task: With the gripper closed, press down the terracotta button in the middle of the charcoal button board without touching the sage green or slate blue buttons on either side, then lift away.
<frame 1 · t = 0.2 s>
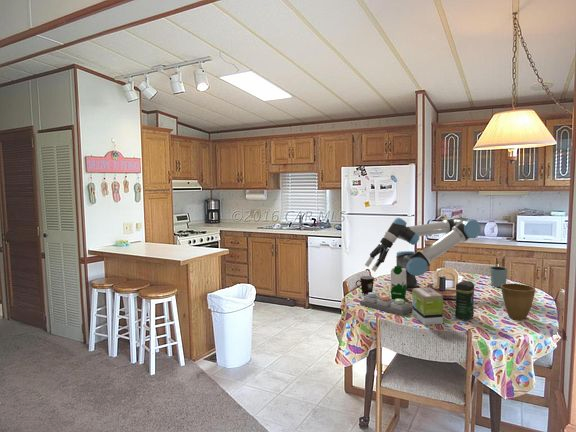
hand: (369, 268, 248), 16 cm above the table, tool tilted 35°, fingers open, 13 cm apart
sage button: (399, 302, 213), point 5 cm above the table, slide at 0.0 cm
button board: (385, 307, 221), on the table
coffee mug: (364, 293, 250), on the table
milk carton: (398, 299, 236), on the table
plant pot: (517, 318, 199), on the table
tea box: (427, 320, 200), on the table
terracotta button: (385, 298, 220), point 5 cm above the table, slide at 0.0 cm
blue-grey cylindrical pot: (498, 286, 257), on the table
slate button: (372, 295, 227), point 5 cm above the table, slide at 0.0 cm
coffee jar: (464, 317, 202), on the table
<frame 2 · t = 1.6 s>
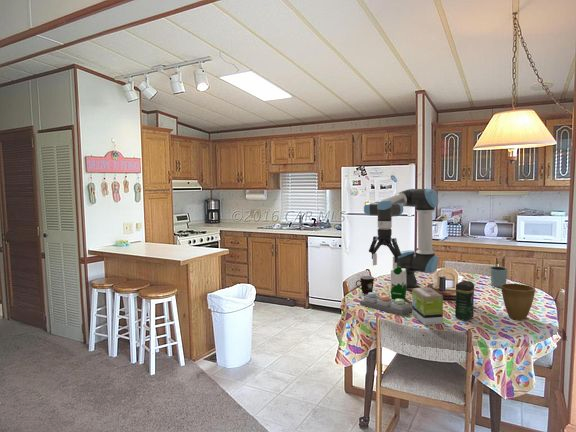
hand: (384, 266, 219), 23 cm above the table, tool pointing down, fingers open, 12 cm apart
nothing on the table moved.
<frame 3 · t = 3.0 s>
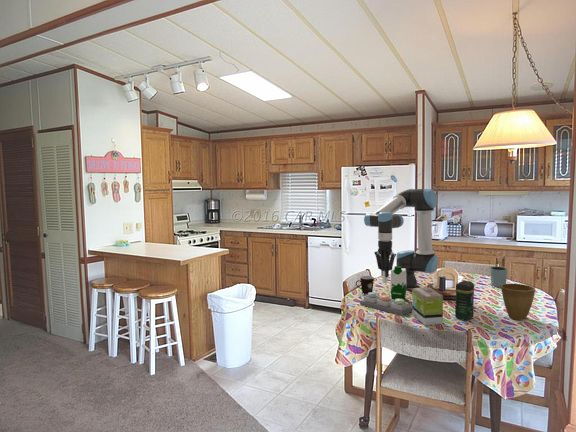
hand: (385, 282, 219), 14 cm above the table, tool pointing down, fingers closed
nothing on the table moved.
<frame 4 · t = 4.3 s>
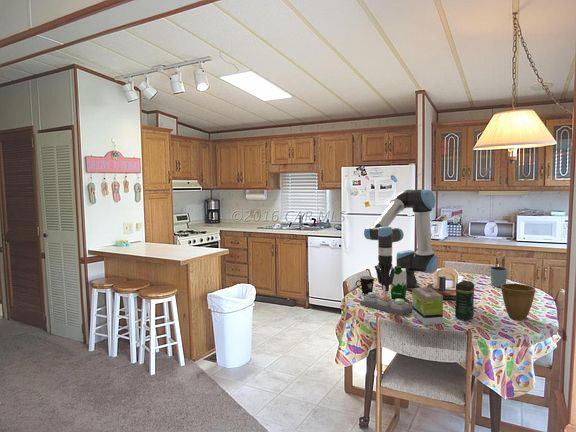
hand: (385, 296, 220), 6 cm above the table, tool pointing down, fingers closed
terracotta button: (385, 299, 220), point 5 cm above the table, slide at 0.1 cm, touching gripper
everything else where it was.
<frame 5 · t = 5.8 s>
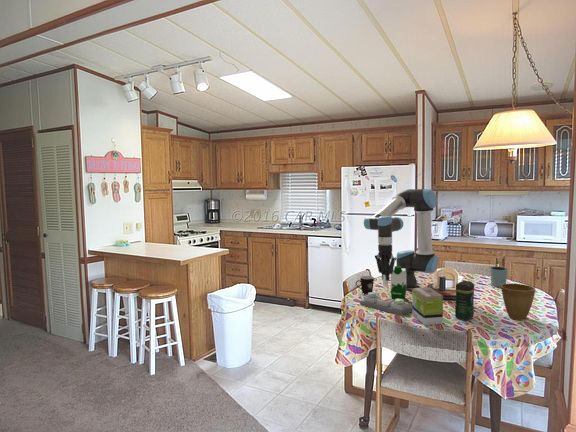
hand: (385, 285, 220), 12 cm above the table, tool pointing down, fingers closed
terracotta button: (385, 301, 220), point 4 cm above the table, slide at 1.4 cm
everything else where it was.
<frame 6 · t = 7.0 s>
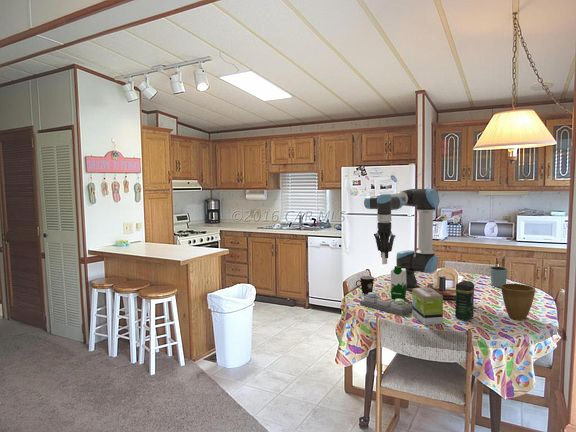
hand: (384, 263, 221), 24 cm above the table, tool pointing down, fingers closed
nothing on the table moved.
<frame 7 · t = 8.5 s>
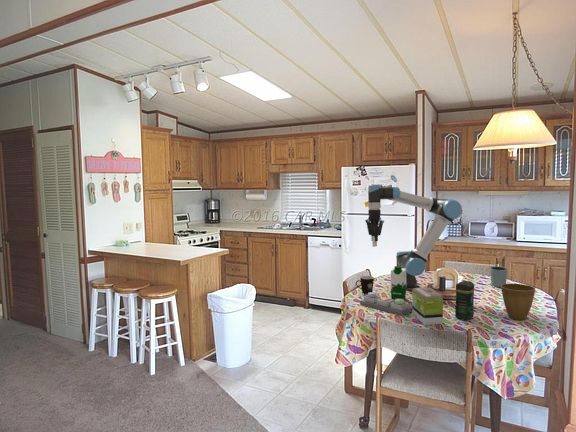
hand: (374, 246, 249), 29 cm above the table, tool pointing down, fingers closed
nothing on the table moved.
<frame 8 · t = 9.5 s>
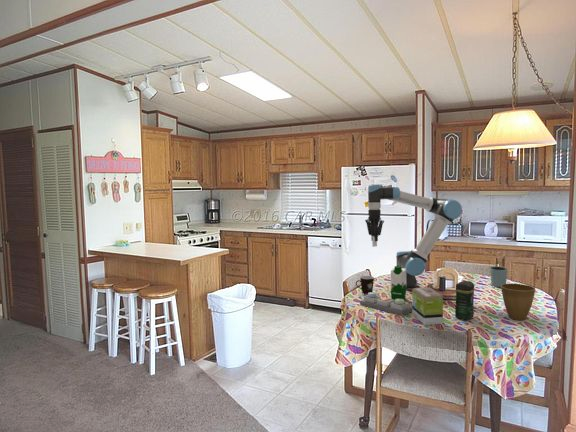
hand: (374, 246, 249), 29 cm above the table, tool pointing down, fingers closed
nothing on the table moved.
at the end: terracotta button slide at 1.4 cm; sage button slide at 0.0 cm; slate button slide at 0.0 cm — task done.
